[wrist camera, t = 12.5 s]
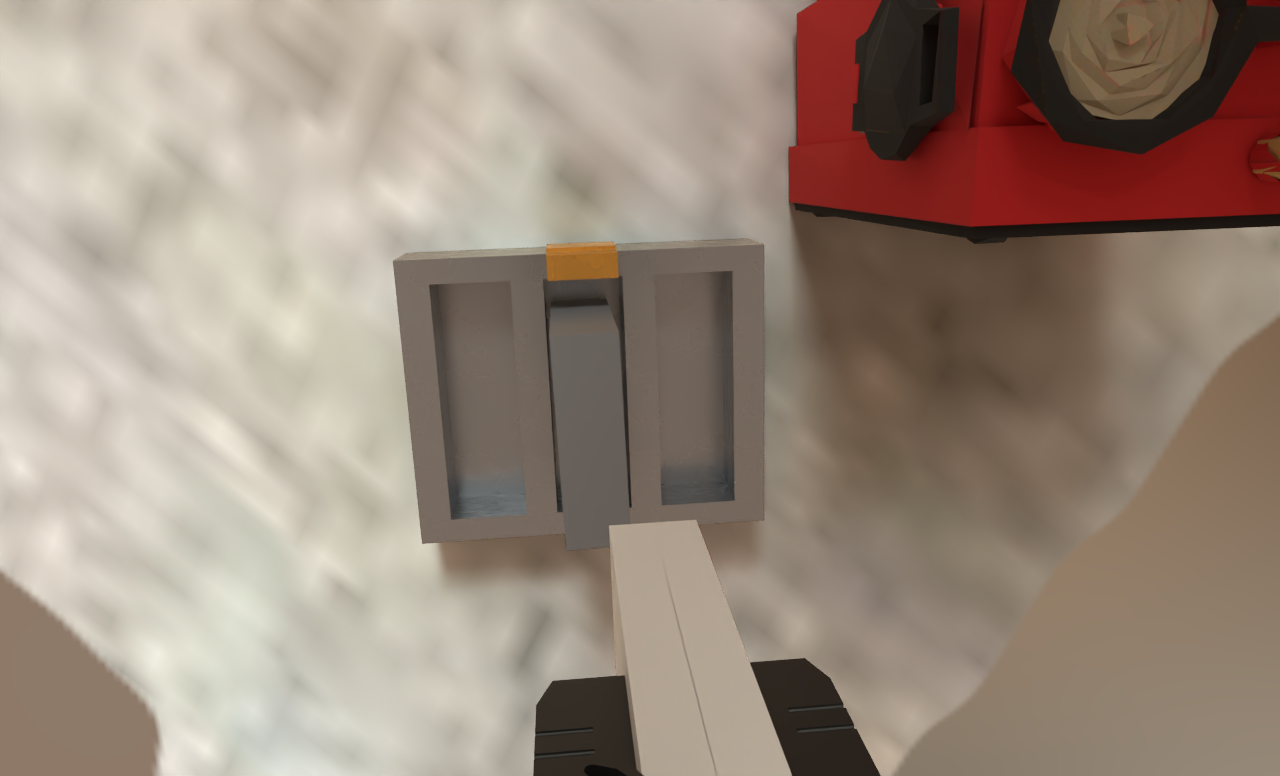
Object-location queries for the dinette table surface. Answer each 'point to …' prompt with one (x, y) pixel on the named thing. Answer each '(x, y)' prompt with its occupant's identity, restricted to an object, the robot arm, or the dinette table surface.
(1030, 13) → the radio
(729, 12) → the dinette table surface
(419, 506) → the rack
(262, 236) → the dinette table surface
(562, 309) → the panel
